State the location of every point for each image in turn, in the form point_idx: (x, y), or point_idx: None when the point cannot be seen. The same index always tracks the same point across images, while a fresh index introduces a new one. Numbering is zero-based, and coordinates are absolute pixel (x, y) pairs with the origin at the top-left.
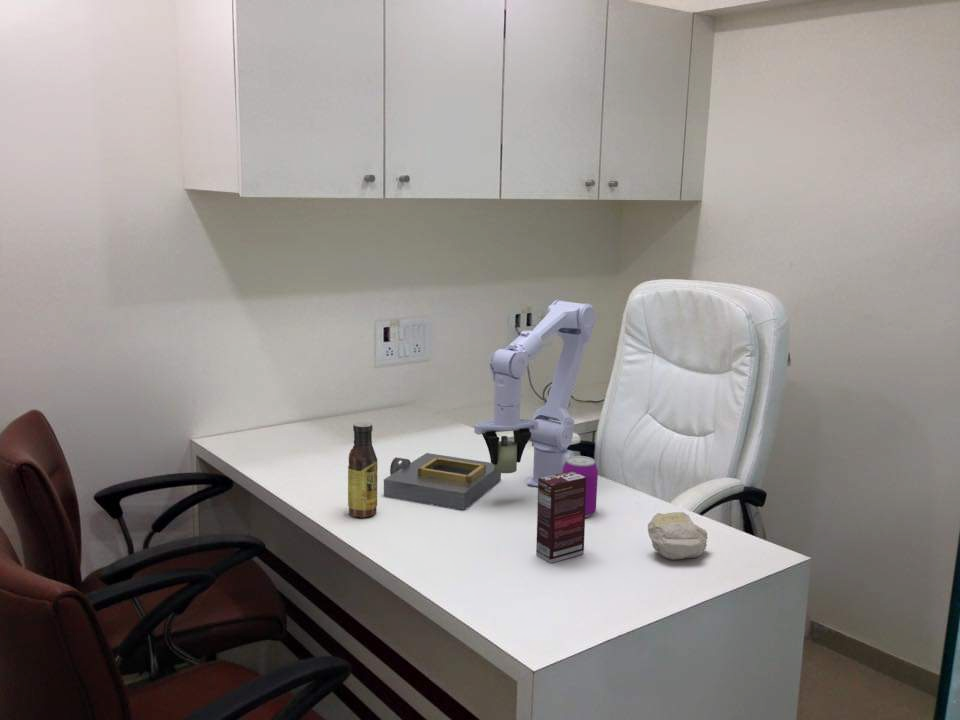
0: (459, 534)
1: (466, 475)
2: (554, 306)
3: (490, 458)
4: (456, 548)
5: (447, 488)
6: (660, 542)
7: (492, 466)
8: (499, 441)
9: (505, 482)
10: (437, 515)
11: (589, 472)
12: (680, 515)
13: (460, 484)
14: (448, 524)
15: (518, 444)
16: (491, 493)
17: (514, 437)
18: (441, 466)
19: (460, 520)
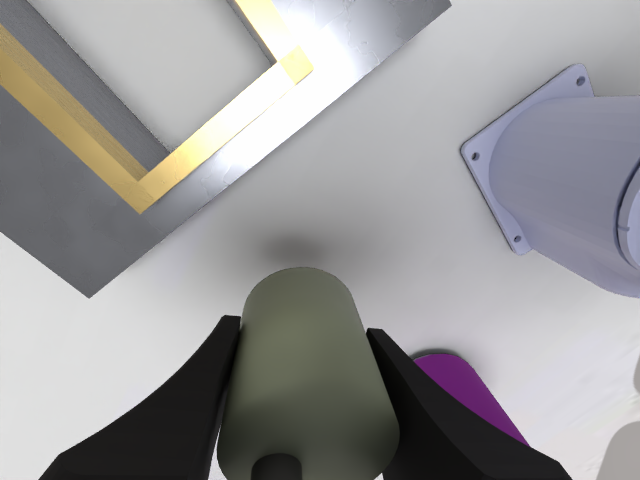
0: (56, 399)
1: (131, 185)
2: None
3: (215, 327)
4: (26, 456)
5: (20, 222)
6: None
7: (387, 16)
8: (297, 386)
9: (414, 67)
10: (12, 265)
11: None
12: None
13: (102, 200)
14: (38, 337)
15: (393, 465)
16: (293, 158)
17: (432, 436)
18: None
19: (86, 325)
